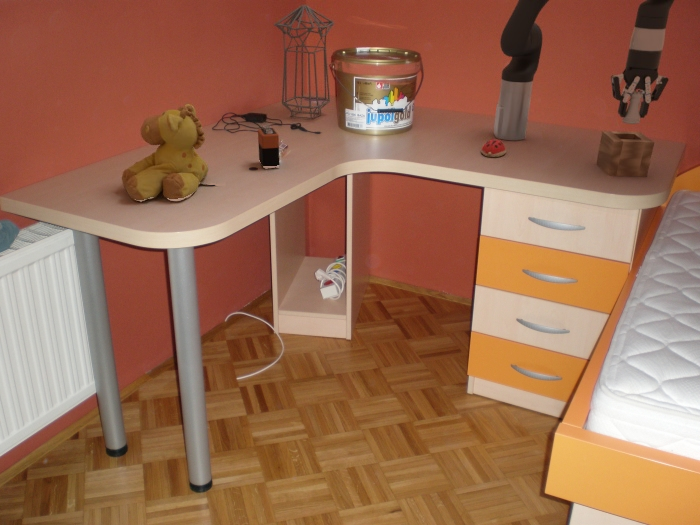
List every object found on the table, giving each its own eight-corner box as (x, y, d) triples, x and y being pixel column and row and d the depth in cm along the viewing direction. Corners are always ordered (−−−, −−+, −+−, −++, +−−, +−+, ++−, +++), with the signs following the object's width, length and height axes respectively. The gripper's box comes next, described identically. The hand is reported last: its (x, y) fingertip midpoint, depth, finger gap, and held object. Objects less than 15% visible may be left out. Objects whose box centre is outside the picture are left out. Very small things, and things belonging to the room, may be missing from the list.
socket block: (607, 175, 170) (614, 141, 166) (596, 163, 179) (602, 131, 175) (646, 176, 170) (654, 142, 166) (633, 164, 179) (640, 132, 175)
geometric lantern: (336, 113, 225) (336, 4, 210) (317, 124, 212) (316, 8, 197) (294, 109, 230) (292, 1, 215) (273, 119, 217) (269, 5, 202)
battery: (275, 161, 176) (273, 124, 172) (280, 168, 170) (278, 130, 166) (258, 162, 175) (257, 125, 171) (263, 170, 169) (261, 131, 165)
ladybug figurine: (507, 150, 189) (508, 138, 188) (502, 160, 181) (504, 147, 180) (484, 148, 191) (485, 136, 190) (478, 157, 183) (479, 145, 182)
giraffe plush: (119, 181, 160) (107, 101, 152) (215, 170, 169) (209, 94, 160) (130, 210, 143) (118, 122, 135) (236, 196, 152) (231, 113, 144)
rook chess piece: (641, 125, 167) (648, 93, 163) (622, 123, 167) (629, 92, 164) (638, 120, 171) (644, 89, 167) (620, 119, 171) (626, 88, 168)
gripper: (669, 45, 164) (654, 114, 172) (611, 44, 164) (599, 112, 172) (681, 50, 157) (665, 121, 165) (621, 48, 158) (608, 119, 165)
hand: (631, 116), depth 168 cm, fingers closed on rook chess piece, 4 cm apart
